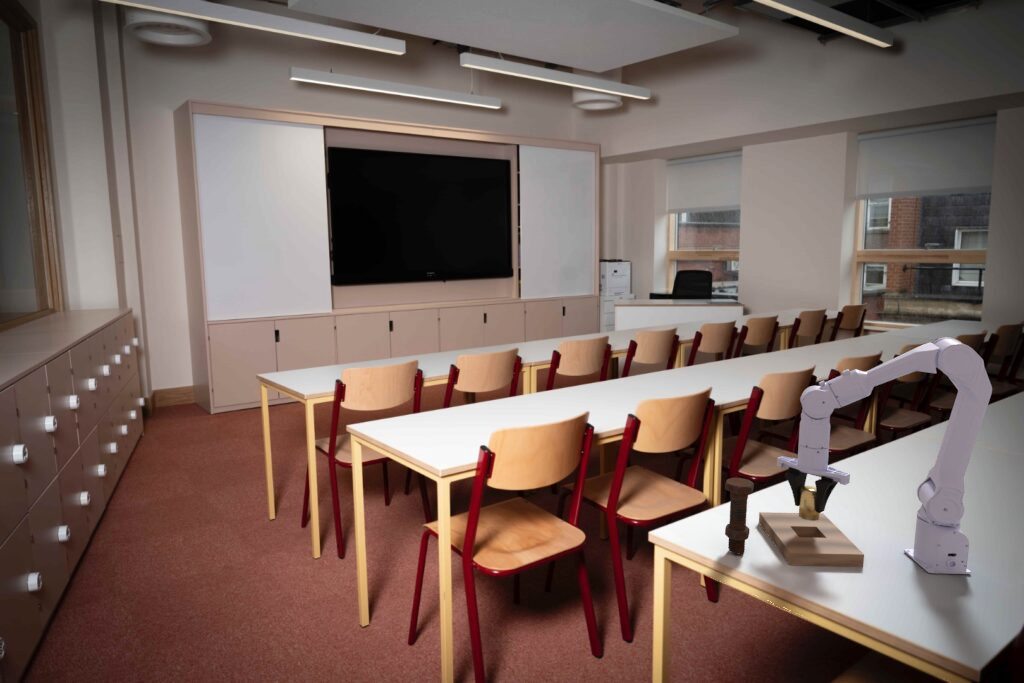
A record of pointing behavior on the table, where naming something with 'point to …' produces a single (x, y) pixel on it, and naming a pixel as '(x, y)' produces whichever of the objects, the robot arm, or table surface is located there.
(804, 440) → the robot arm
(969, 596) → the table surface
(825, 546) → the slot block
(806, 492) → the pin
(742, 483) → the bolt
